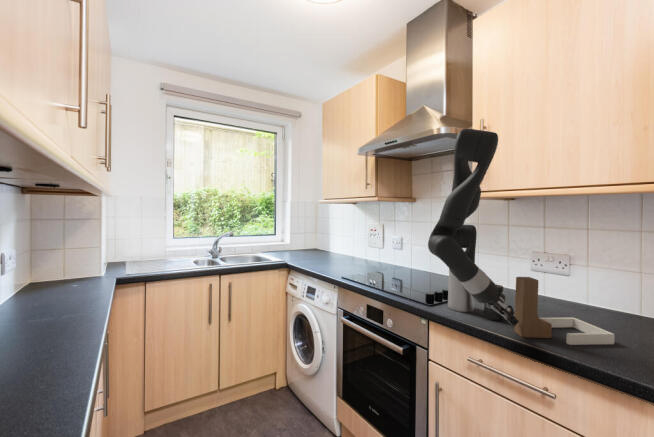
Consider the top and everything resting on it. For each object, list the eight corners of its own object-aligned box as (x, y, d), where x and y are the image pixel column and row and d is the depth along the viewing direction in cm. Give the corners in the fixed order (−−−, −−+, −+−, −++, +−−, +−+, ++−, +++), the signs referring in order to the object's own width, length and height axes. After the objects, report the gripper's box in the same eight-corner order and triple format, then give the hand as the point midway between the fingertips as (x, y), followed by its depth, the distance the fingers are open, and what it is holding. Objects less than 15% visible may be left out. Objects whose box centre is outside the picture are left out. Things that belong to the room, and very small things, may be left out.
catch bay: (534, 326, 105) (534, 317, 105) (573, 326, 106) (573, 317, 105) (569, 344, 91) (569, 334, 91) (614, 344, 92) (614, 334, 91)
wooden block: (541, 332, 99) (544, 277, 99) (551, 338, 95) (554, 280, 94) (513, 332, 100) (515, 276, 99) (522, 337, 95) (524, 279, 94)
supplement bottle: (481, 318, 112) (482, 285, 111) (486, 313, 117) (487, 282, 116) (502, 323, 107) (504, 288, 107) (507, 318, 112) (508, 285, 112)
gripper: (500, 280, 89) (539, 322, 90) (475, 271, 102) (509, 307, 103) (481, 299, 89) (521, 340, 90) (459, 287, 102) (493, 323, 103)
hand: (515, 323), depth 97 cm, fingers closed
